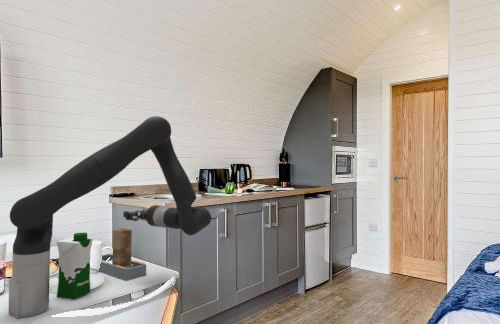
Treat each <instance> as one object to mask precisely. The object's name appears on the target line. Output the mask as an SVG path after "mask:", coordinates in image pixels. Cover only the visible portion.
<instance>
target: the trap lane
mask: <svg viewBox="0 0 500 324" xmlns="http://www.w3.org/2000/svg"><path fill="white" fill-rule="evenodd" d="M101 255H102V260H101V264H100V268H99V271H98V272H99V273H102V274H105V275H107V276H110V277H114V278H117V279H119V280H121V281H125V282H126V281H130V280H134V279H138V278H140V277H144V276H147V264H146V263H145V262H141V261H139V260H138V261H137V260H132V259H131V265H130V266H126V267H122V266H119V265H113V264H112V257H113V253H106V254H101ZM109 257H110V259H109V260H108V261H107V262H106V260H107V259H108V258H109Z"/></svg>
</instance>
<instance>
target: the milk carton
mask: <svg viewBox="0 0 500 324" xmlns="http://www.w3.org/2000/svg"><path fill="white" fill-rule="evenodd" d="M93 241H94V238H92V237H88V233H87V232H76V233H73V236H72V237H69V238H64V239H60V240H57V241H56V245H57V251H58V282H57V291H56V298H61V299H68V300H73V301H75V300H77V299H79V298H81V297H84V296H86V295H87V294H90V293H91V277H90V276H91V268H90V258H91V249H92V245H93Z"/></svg>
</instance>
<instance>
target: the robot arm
mask: <svg viewBox="0 0 500 324" xmlns="http://www.w3.org/2000/svg"><path fill="white" fill-rule="evenodd" d="M171 136H172V127H171V124H170V122H169V121H168V120H167V119H166V118H165V117H162V116H157V115H156V116H150V117H148V118H146V119H145V120H144V121H143V122H142V123H140V124H139V125H137V126H136V127H135V128H134V129H132V130H131V131H130V132H129V133H127V134H126V135H125V136H123V137H121V138H119V139H118V140H116V141H114V142H112V143H110V144H107V145H106V146H104V147H102V148H101V149H99V150H98V151H97V150H96V152H93V153H92V154H90V155H89V156H87V157H86V158H84V159H82V160H81V161H80V162H78V163H77V164H75V165H74V166H72V167H71V168H69V170H67V171H66V172H64V173H63V174H61V175H60V176H59V177H58V178H57V179H55V180H54V181H53V182H51V183H49V184H47V185H46V186H45V187H42V188H41V189H39V190H36V191H34V192H33V193H30V194H29V195H28V194H27V196H24V197H22V198H20V199H18V200H17V201H16V202H15V203H13V205H12V206H11V209H10V211H9V220H10V222H11V224H12V225H13V226H15V227H16V228H17V229H16V235H15V239H14V242H13V244H12V264H11V265H12V269H11V270H12V271H11V273H12V275H11V278H9V279H8V314H9V315H11V316H12V317H14V318H15V319H19V318H25V317H26V318H27V317H33V316H36V315H39V314H42V313H44V312H46V311H48V310H49V307H50V275H51V274H50V273H51V269H50V267H51V265H50V263H51V260H50V259H51V243H52V238H53V228H54V227H53V225H54V224H53V223H54V214H55V213H57V212H58V211H59V210H60V209H62V208H64V207H65V206H67V204H70V203H71V202H73V201H75V200H77V199H79V198H81V197H83V196H85V195H87V194H89V193H91V192H93V191H95V190H96V189H98V188H99V187H101V186H104V184H106V183H108V182H109V181H110V180H112V179H114V177H116V176H118V175H119V174H120V173H121V172H122V171H124V170H125V169H126V168H127V167H128V166H129V165H130V164H131V163H132V162H133V161H135V160H136V159H137V158H139V157H140V156H142V155H143V154H145V153H147V152H149V151H151V152H152V153H153V155H154V156H155V159H156V162H158V164H159V167H160V169H161V171H162V173H163V177H164V179H165V181H166V184H167V186H168V188H169V191H170V193H171V195H172V198H173V200H174V202H175V206H176V207H172V206H166V205H158V204H155V205H151V206H149V208H147V209H146V208H143V209H142V210H138V209H137V210H135V211H129V210H128V211H123V217H124V218H125V220H126V221H134V222H138V221H143V222H147V224H148V225H149V226H150V227H156V228H163V229H174V230H182V232H183V234H186V235H188V236H194V235H196V234H198V233H199V232H201V231H203V230H204V229H205V228H207V227H208V226H209V225H210V224H211V222H212V214H211V213H210V212H209V210H208V209H207V208H205V207H203V206H192V205H193V203H195V201H196V199H197V194H196V192H195V190H194V187H193V185H192V183H191V180H190V178H189V176H188V174H187V173H186V171H185V169H184V168H183V166H182V164H181V162H180V160H179V158H178V156H177V154H176V152H175V150H174V146H173V143H172V138H171Z"/></svg>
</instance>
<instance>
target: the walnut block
mask: <svg viewBox="0 0 500 324" xmlns="http://www.w3.org/2000/svg"><path fill="white" fill-rule="evenodd" d="M132 230H133V229H131V228H126V227H123V228H117V229H113V230H112V254H113V257H112V264H113V265H119V266H122V267H126V266H130V265H131V260H132V241H133V240H132V238H133V235H132V234H133V231H132Z"/></svg>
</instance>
